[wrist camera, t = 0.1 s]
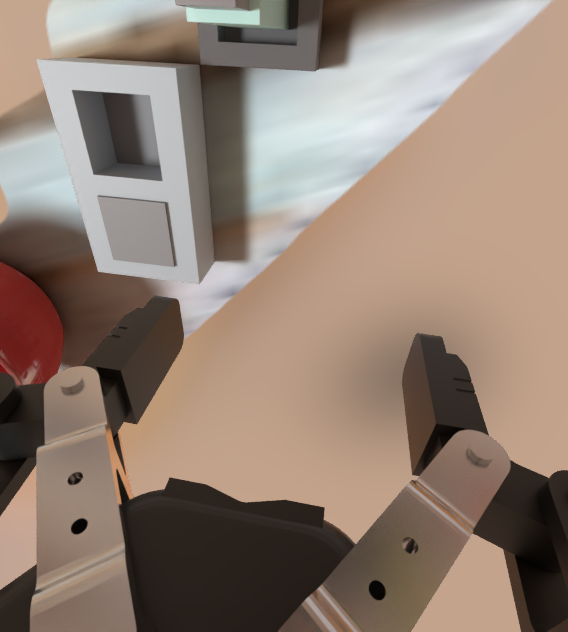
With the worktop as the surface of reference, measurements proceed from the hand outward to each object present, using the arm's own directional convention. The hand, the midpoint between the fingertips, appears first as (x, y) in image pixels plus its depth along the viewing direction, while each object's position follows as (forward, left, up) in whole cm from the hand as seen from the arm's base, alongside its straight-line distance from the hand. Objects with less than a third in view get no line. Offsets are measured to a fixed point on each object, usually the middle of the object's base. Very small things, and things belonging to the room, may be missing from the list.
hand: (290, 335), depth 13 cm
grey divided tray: (+4, -19, -29) cm, 35 cm away
